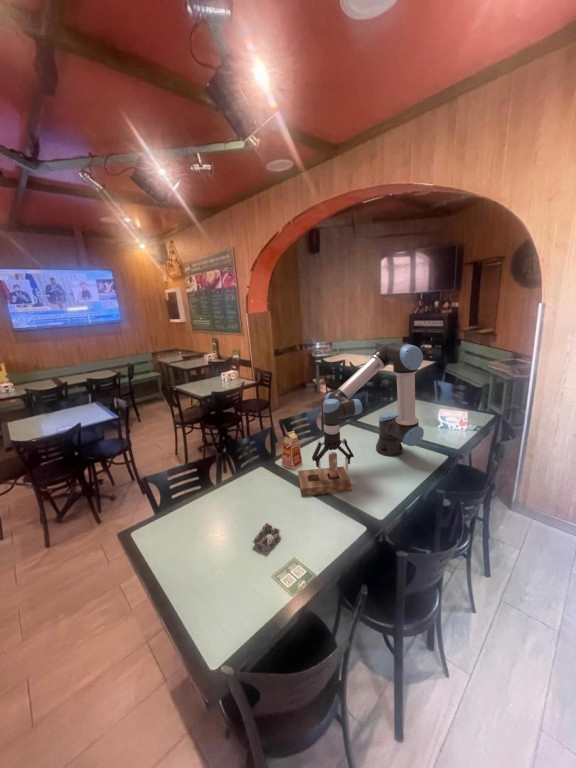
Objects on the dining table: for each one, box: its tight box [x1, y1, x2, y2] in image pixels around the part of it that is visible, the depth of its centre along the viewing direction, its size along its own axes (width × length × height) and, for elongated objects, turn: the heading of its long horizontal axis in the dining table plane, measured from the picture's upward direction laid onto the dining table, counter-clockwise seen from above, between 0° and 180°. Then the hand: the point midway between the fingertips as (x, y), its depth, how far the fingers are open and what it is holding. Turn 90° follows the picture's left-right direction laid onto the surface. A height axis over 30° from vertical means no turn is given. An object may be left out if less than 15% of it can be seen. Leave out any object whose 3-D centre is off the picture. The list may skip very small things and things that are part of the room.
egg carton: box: [252, 522, 281, 553], centre depth 120 cm, size 11×8×4 cm
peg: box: [328, 451, 338, 480], centre depth 153 cm, size 4×4×16 cm
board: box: [297, 466, 353, 497], centre depth 155 cm, size 24×16×4 cm, turn 94°
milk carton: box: [281, 430, 303, 470], centre depth 174 cm, size 9×9×20 cm
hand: (333, 471), depth 154 cm, fingers open, 13 cm apart
